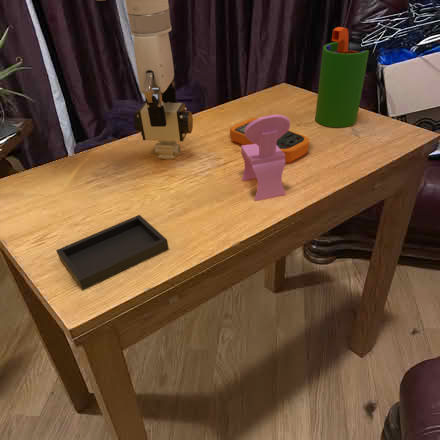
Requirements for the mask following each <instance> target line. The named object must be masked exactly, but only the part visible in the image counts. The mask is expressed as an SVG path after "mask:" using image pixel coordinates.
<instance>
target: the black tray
mask: <svg viewBox="0 0 440 440" xmlns="http://www.w3.org/2000/svg"><path fill="white" fill-rule="evenodd" d="M168 250H169V243H168V239H167V238H166V237H165V236H163V234H162V233H160V232H159V231H158V230H157V229H156V228H155V227H154V226H153V225H152V224H150V223H149V222H148V221H147V220H146V219H145V218H144V217H143V216H141V215H140V214H138V215H136V216H133V217H131V218H128V219H126V220H123V221H120V222H119V223H117V224H114V225H111V226H110V227H107V228H104V229H103V230H100V231H98V232H95V233H93V234H91V235H88V236H85V237H84V238H82V239H79V240H77V241H75V242H72V243H70V244H67V245H65V246H62V247H61V248H57V249H56V250H55V251H56V254H57V256H58V258H59V260H60V262H61V263H62V265H63V266H64V267H65V268H66V270H67V271H68V273H69V274H70V275H71V277H72V278H73V279H74V281H75V282H76V283H77V285H78V286H79V288H80V289H81V290H82V291H84V290H86V289H88V288H90V287H93V286H94V285H95V286H96V285H97V284H99V283H101V282H103V281H105V280H107V279H109V278H111V277H113V276H116V275H117V274H120V273H123V272H124V271H126V270H128V269H130V268H132V267H134V266H137V265H139V264H141V263H142V262H144V261H147V260H149V259H151V258H153V257H155V256H157V255H159V254H162V253H164V252H166V251H168Z"/></svg>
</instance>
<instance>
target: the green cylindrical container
mask: <svg viewBox="0 0 440 440" xmlns="http://www.w3.org/2000/svg"><path fill="white" fill-rule="evenodd" d="M348 29H349V28H347V27H342V26H337V27H335V28H334V29H332V36H331V42H329V43H326V44H324V45H323V46H322V51H321V52H322V53H321V62H320V71H319V79H318V90H317V96H316V97H317V98H316V107H315V117H314V120H315V122H317V124H319V125H322V126H324V127H328V128H347V127H351V126H353V125H355V124H356V123H357V121H358V116H359V115H358V114H359V111H360V110H359V109H360V104H361V98H362V92H363V87H364V82H365V76H366V72H367V71H366V70H367V65H368V64H367V63H368V60H369V55H370V54H369V53H370V50H368V49H365V50H362V51H358V50H351V49H349V37H350V36H349V30H348Z"/></svg>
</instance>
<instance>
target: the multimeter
mask: <svg viewBox="0 0 440 440" xmlns="http://www.w3.org/2000/svg"><path fill="white" fill-rule="evenodd" d="M256 119H258V118H257V117H251V118H249V119H247V120H244V121H242V122H240V123H237V124H235V125H233V126H230V128H229V137H230V139H231V141H232V142H234V143H236V144H240V145H241V146H243V145H250V144H255V143H252V142H251V141H250V140H248V139H247V137H246V135H245V128H246V126H247V125H248V124H249V123H251V122H252V121H254V120H256ZM276 145H277V146H278V147H279V149H280V150H281V151H282V152H283V153H284V154H285V163H291V162H293V161H296V160H297V159H298V158H301V157H303V156H304V155H305V154H307V153H308V151H309V147H310V139H309V138H308V137H307V136H305V135H304V134H300V133H297V132H294V131H291V130H290V129H289V130H288V131H287V132H286V133H285V134H284V135H282V136H281V137H280V138H279V139H278V140H277V143H276Z"/></svg>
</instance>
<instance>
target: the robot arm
mask: <svg viewBox="0 0 440 440" xmlns="http://www.w3.org/2000/svg"><path fill="white" fill-rule="evenodd" d="M97 1H99V2H100V1H101V2H103V1H105V0H97ZM124 2H125V3H124V4H125V8H126V14H127V18H128V24H129V25H128V26H129V29H130V30H129V31H130V35H132V36H133V48H134V59H135V67H136V74H137V80H138V81H137V82H138V87H139V92H140V93H141V94H143V96H144V101H145V103H146V105H147V108H148V113H149V119H150V124H151V126H152V127H165V126H166V117H165V111H164V106H162V101H163V102H164V103H167V102H170V103H178V100H177V92H176V87H175V85H176V84H175V80H174V78H175V69H174V67H175V66H174V60H173V52H172V47H171V42H170V41H171V40H170V36H169V32H171V31H172V29H173V28H172V22H171V21H172V20H171V14H170V13H171V12H170V5H169V0H124ZM156 95H157V96H156Z"/></svg>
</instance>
